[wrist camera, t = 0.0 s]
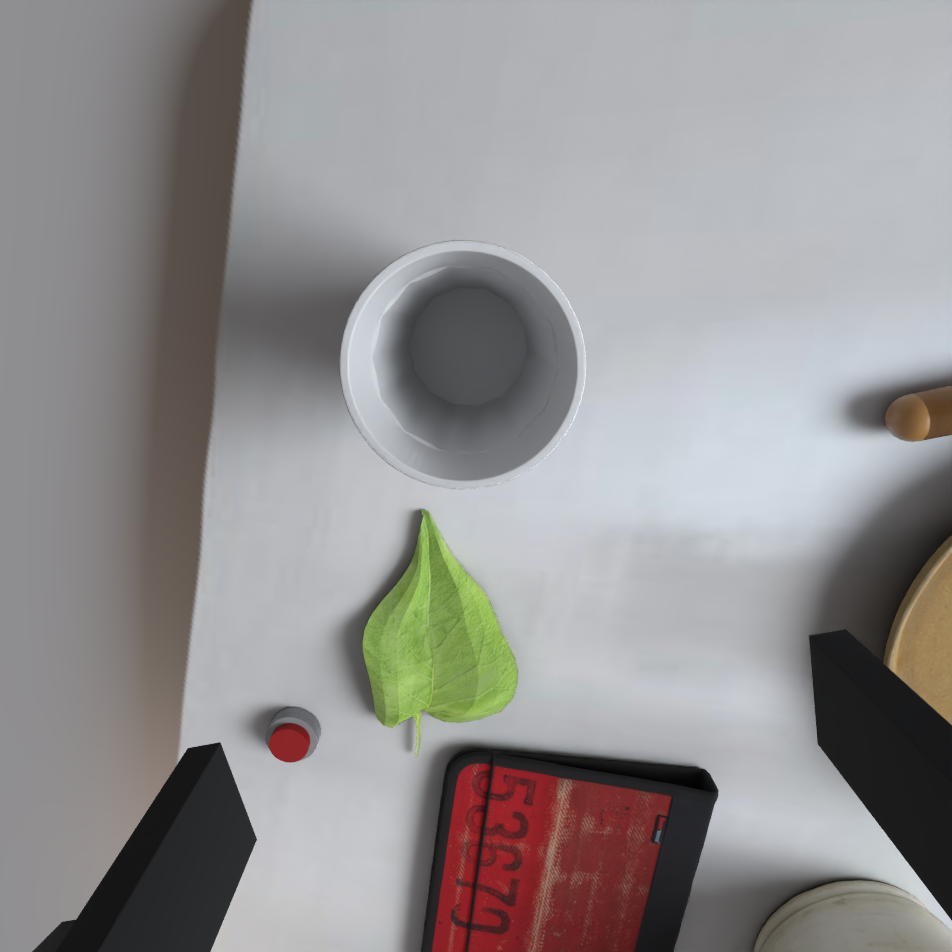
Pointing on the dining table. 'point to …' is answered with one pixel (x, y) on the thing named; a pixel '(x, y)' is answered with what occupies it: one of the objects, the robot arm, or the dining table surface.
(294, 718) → the push button
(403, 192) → the dining table surface
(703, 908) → the dining table surface
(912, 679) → the plant saucer
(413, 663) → the leaf
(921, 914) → the jug
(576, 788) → the notebook
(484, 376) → the cup
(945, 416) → the dowel
